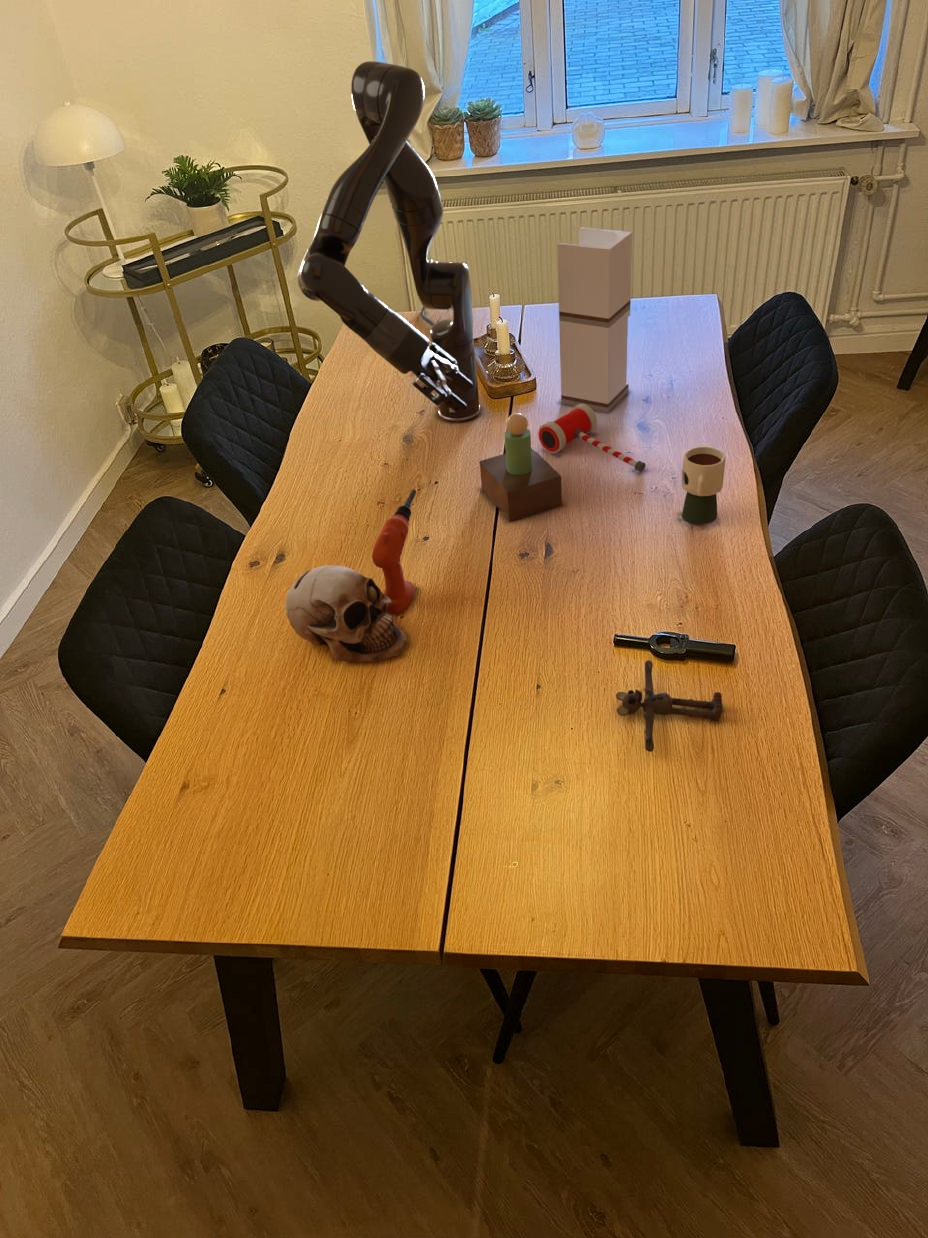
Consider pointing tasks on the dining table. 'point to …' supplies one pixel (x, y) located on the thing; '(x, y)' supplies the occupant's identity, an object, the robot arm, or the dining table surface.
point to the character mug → (702, 483)
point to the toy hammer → (578, 434)
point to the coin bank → (344, 614)
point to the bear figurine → (664, 705)
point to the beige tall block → (594, 317)
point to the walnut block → (521, 487)
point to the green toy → (518, 445)
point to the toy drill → (395, 557)
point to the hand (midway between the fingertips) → (467, 399)
